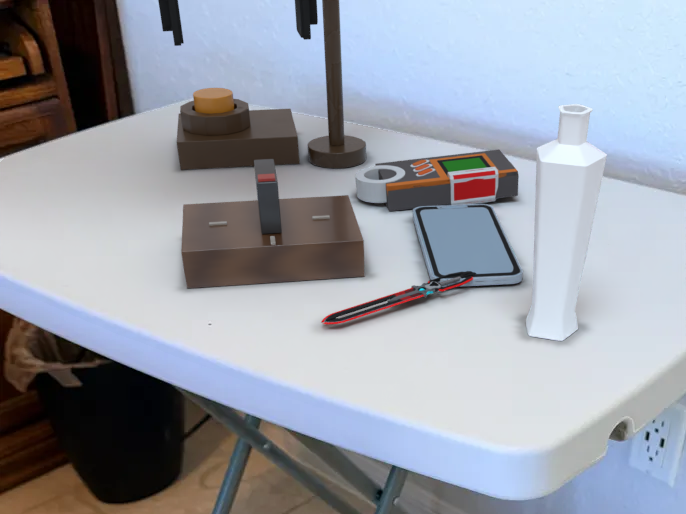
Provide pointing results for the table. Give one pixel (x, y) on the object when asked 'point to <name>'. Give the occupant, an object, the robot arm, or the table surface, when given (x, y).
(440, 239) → the smartphone
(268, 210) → the dimmer knob
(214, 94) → the power button
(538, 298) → the white vase
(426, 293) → the toy sword
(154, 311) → the table surface
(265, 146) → the button base
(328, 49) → the lamp
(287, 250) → the panel
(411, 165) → the electronic device
